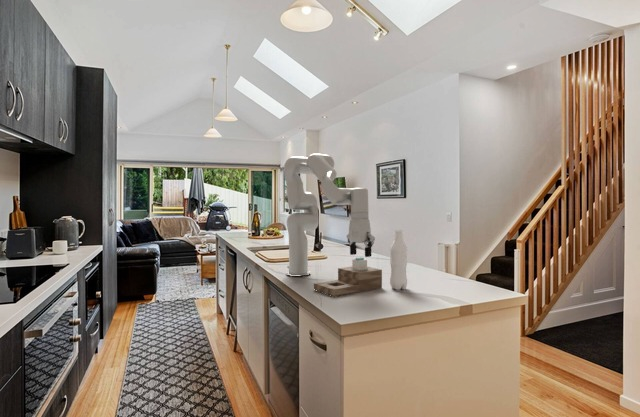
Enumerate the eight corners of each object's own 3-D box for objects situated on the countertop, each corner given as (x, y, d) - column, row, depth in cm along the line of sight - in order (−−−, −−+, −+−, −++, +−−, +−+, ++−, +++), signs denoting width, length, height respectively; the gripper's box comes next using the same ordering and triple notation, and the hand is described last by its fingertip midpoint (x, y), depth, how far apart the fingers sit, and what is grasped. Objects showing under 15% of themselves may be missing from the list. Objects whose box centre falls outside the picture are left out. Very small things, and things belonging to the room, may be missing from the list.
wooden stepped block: (313, 290, 163) (313, 271, 163) (360, 282, 178) (360, 265, 178) (333, 297, 151) (333, 276, 151) (381, 288, 166) (381, 269, 166)
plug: (352, 275, 169) (352, 257, 169) (360, 274, 171) (360, 256, 171) (359, 277, 165) (359, 259, 165) (367, 276, 168) (367, 258, 168)
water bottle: (408, 290, 162) (408, 231, 161) (391, 290, 162) (391, 231, 161) (405, 286, 169) (405, 229, 168) (388, 286, 169) (388, 229, 168)
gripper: (340, 216, 172) (341, 254, 173) (366, 216, 158) (367, 258, 158) (353, 215, 177) (354, 253, 177) (380, 216, 163) (380, 256, 163)
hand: (360, 255), depth 168 cm, fingers open, 9 cm apart
